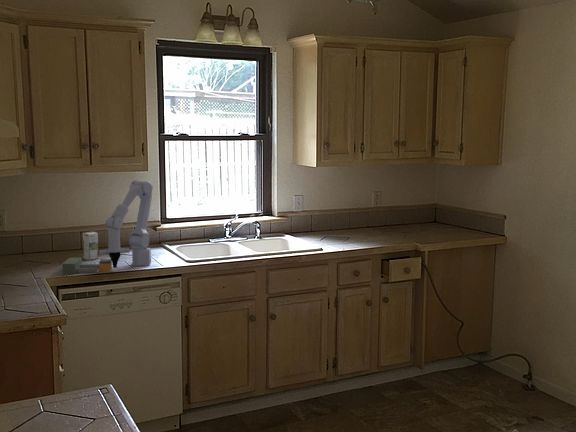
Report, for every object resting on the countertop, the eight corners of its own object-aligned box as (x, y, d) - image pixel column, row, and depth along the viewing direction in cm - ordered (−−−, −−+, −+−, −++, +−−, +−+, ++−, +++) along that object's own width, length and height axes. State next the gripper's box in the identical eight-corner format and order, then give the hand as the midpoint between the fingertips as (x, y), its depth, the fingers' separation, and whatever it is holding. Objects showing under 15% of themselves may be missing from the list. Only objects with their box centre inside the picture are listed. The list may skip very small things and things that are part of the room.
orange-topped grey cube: (111, 269, 309) (111, 259, 309) (109, 271, 305) (109, 261, 304) (101, 269, 309) (101, 259, 308) (99, 271, 304) (99, 261, 303)
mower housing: (102, 267, 313) (101, 257, 313) (96, 273, 300) (95, 263, 299) (69, 267, 312) (69, 257, 311) (62, 273, 298) (62, 263, 297)
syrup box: (92, 257, 336) (91, 231, 334) (98, 258, 332) (97, 232, 330) (83, 258, 332) (82, 232, 330) (89, 260, 328) (88, 233, 326)
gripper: (127, 238, 312) (127, 264, 314) (97, 240, 305) (98, 267, 307) (130, 240, 306) (130, 267, 307) (100, 242, 299) (101, 270, 301)
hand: (114, 267), depth 307 cm, fingers closed
